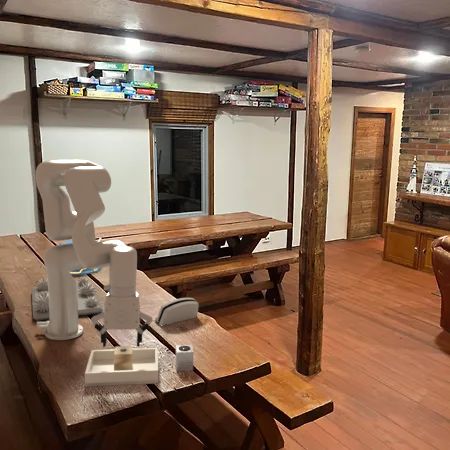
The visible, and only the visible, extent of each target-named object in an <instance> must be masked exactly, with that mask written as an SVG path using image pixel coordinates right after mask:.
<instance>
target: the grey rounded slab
mask: <svg viewBox="0 0 450 450" xmlns="http://www.w3.org/2000/svg"><path fill="white" fill-rule="evenodd" d="M199 304H200V303H199V302H198V301H197V300H196V299H195V298H193V297H180V298H177V299H173V300H170V301H168V302H166V303H164V304H162V305H161V306H160V310H159V312H158V314H157V317H155V319H154V322H155V321H157V322H156V323H158V326H160V325H163V326H166V325H165V324H167V325H170V324H169V323H171V324H174V323H173V322H175V323H178V321H179V322H182V320H183V321H187V320H190V318H191V319H194V317H195V318H197V317H198V312H199ZM186 319H187V320H186Z"/></svg>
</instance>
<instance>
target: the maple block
mask: <svg viewBox="0 0 450 450" xmlns="http://www.w3.org/2000/svg"><path fill="white" fill-rule="evenodd" d="M114 349H115V352H114V371H120V370H132V365H133V349H134V348H133V345H130V346H129V345H126V346H121V345H120V346H114Z"/></svg>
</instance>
